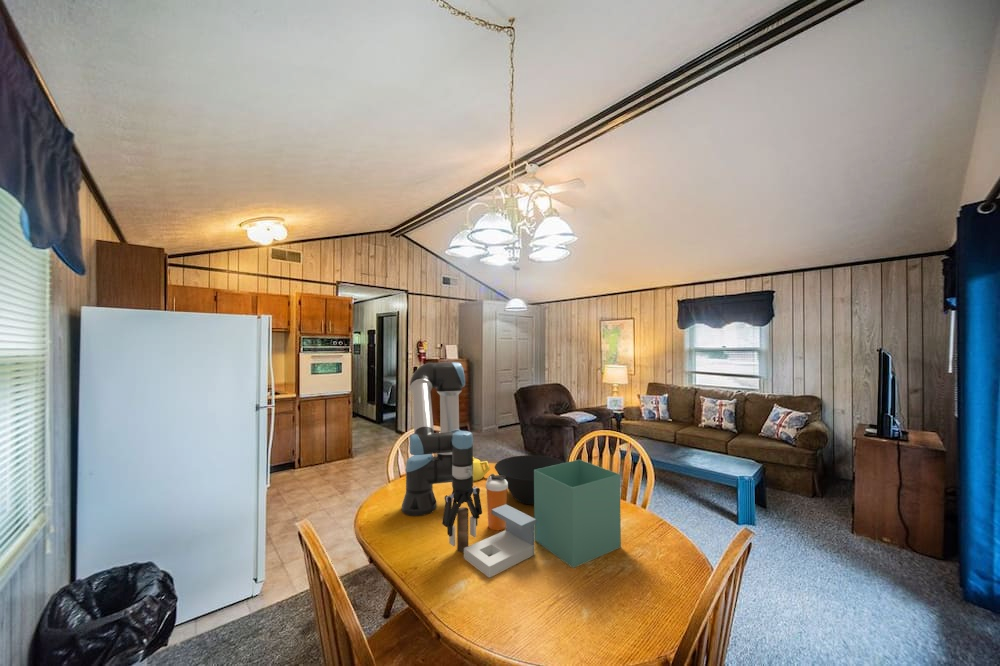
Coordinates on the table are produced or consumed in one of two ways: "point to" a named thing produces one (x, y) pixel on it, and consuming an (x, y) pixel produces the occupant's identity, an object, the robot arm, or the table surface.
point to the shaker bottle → (496, 499)
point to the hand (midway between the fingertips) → (462, 539)
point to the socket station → (504, 543)
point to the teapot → (479, 469)
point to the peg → (462, 529)
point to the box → (577, 511)
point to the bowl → (523, 474)
